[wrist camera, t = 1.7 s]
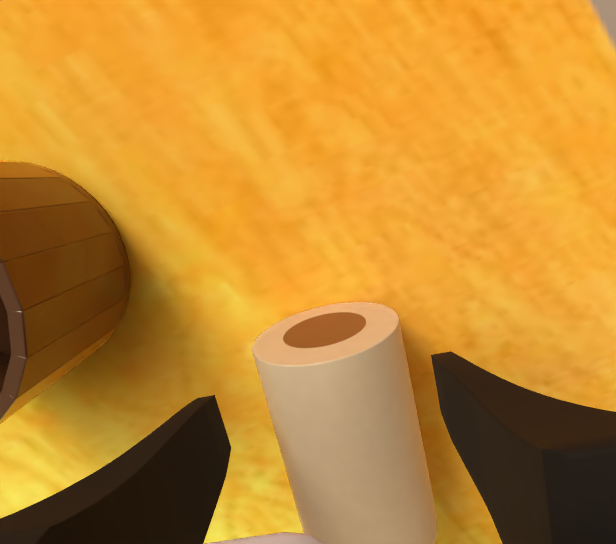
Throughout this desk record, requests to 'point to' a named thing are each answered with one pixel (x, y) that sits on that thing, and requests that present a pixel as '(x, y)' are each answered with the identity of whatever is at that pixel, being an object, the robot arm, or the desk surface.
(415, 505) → the paper roll
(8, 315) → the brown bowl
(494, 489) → the robot arm
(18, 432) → the desk surface
